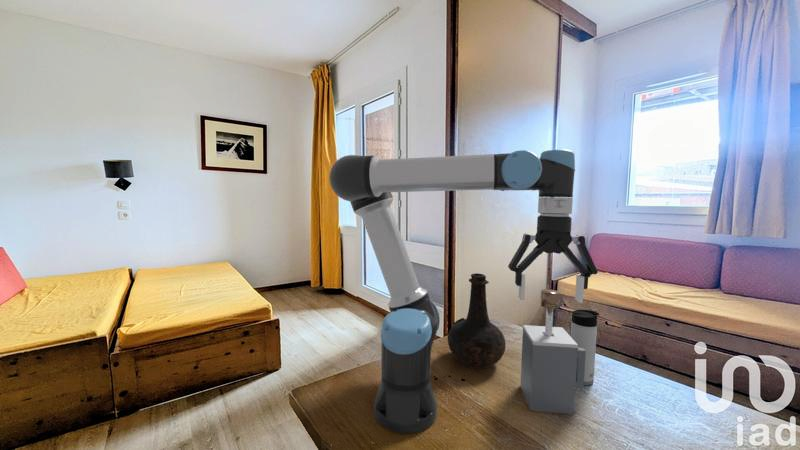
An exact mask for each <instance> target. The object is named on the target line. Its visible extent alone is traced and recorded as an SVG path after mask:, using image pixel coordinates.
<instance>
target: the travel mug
mask: <svg viewBox="0 0 800 450" xmlns="http://www.w3.org/2000/svg"><path fill="white" fill-rule="evenodd" d="M598 316H599V317H600V313H599V312H598V311H596V310H589V309H575V310H573V311H572V312H571V320H570V321H571V322H570V336H571V338H572V339H573V340H574V341H575V342H576V343H577V344H578V348H584V350H585V351H586V355H585V371H584V386H590V385H593V384H594V380H595V379H594V378H595V362H596V347H597V336H598V335H597V333H598V332H597V331H598V330H597V329H598Z"/></svg>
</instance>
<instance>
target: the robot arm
mask: <svg viewBox="0 0 800 450" xmlns="http://www.w3.org/2000/svg"><path fill="white" fill-rule="evenodd" d="M575 168H576V162H575V153H574V151H573V150H569V149H550V150H549V149H548V150H545V151H544V150H543V151H542V152H541V153H540V157H539V156H538V155H537V154H536V153H534V152H533V151H529V150H525V149H523V150H522V149H521V150H515V151H513V152H509V153H497V154H496V153H494V154H493V153H491V154H471V155H470V154H469V155H467V154H466V155H449V156H448V155H447V156H428V157H409V158H392V159H391V158H390V159H389V158H387V159H383V158H382V159H381V158H380V157H379V156H378V155H374V154H373V155H355V154H350V155H345V156H342V157H340V158H339V159H337V160H336V161H335V162H334V163H333V165H332V166H331V168H330V171H329V177H328V178H329V185H330V187H331V190H332V192H334V194H335V195H336V196H337V197H339V198H341V200H344V201H347V202H349V203H350V205H351V208H352V211H353V213H354V214H355V215H358V216H360V217H361V219H362V221H363V225H364V227H365V230H366V232H367V235H368V239H369V241H370V243H371V246H372V249H373V251H374V255H375V258H376V260H377V262H378V266H379V269H380V271H381V273H382V277H383V279H384V281H385V285H386V287H387V290H388V293H389V295H390V299H389V302H388V304H387V306H388V309H389V311H390V312H389V313H388V314H387V315H386V316H385V317H384V318H383V320H382V323H381V329H380V338H381V339H380V340H381V381H380V383H379V387H378V389H377V392H376V395H375V399H374V403H373V415H374V418H375V420H376V422H377V423H378V424H379V425H380V426H382V427H383V428H385V429H386V430H388V431H390V432H393V433H397V434H404V435H405V434H409V435H410V434H417V433H419V432H423V431H425V430H427V429H428V428H430V427H431V426H432V425H433V424H434V423H435V421H436V419H437V416H438V404H437V399H436V396H435V392H434V389H433V386H432V383H431V382H432V381H431V353H432V347H433V344H434V341H435V339H436V336H437V333H438V331H439V327H440V322H441V321H440V312H439V309H438V306H437V305H436V303H434V301H432V300H431V298H430V295H429V293H428V292H429V291H428V290H427V289H425V288H423V287H421V286H420V284H419V281H418V278H417V275H416V273H415V270H414V268H413V265H412V261H411V259H410V256H409V254H408V251H407V248H406V245H405V242H404V240H403V237H402V234H401V232H400V229H399V226H398V224H397V220H396V218H395V215H394V213H393V209H392V207H391V205H392V203H393V201H394V196H393V193H407V192H408V193H409V192H410V193H411V192H414V193H415V192H416V193H417V192H418V193H419V192H447V191H449V192H452V191H485V190H487V191H488V190H489V191H490V190H493V191H502V192H504V191H538V201H537V202H538V203H537V213H538V214H539V215H538V216H537V220H536V221H537V222H536V234H534V235H533V234H528V233H526V232H525V233H523V235H522V239H521V240H522V241H521V243H520V244H519V246H518V248H517V249H516V252H515V253H514V254H513V257H512V258H511V260H510V262H509V264H508V265H507V268H508V269H509V270H510V271H511V272H515V275H514V276H515V278H514V283H515V285H516V287H518V298H519V299H520V300H521V301H525V291H526V273H524V271H525V270H526V269H528V267H530V266H531V264H532V263H533V262H534V261H535V260H536V259H537V258H538V257H539V256H540V255H542V254H543V253H546V254H552V253H553V254H558V255H560V254H561V253H563V254H564V255H565V257H567V259H568V261H569V262H570V263H571V264H572V265H573V267H574V268H575V269H576V270H577V271H578V273H579V274H578V273H577V274H576V277H575V291H574V292H575V295H574V300H575V301H576V302H578V304H584V290H587V289H588V287H589V278H590V277H592V275H597V274H598V273H599V272H598V269H597V267H596V265H595V263H594V261H593V257H592V256H591V254H590V252H589V250H588V248H587V245H586V237H585V236H584V235H580V234H576V235H572V233H571V232H572V217H571V216H570V215H571V214H572V213H573V201H574V199H573V198H574V197H573V196H574V195H573V194H574V184H575V183H574V181H575V173H576V172H575V171H576V169H575ZM533 241H535V242H536V246H535V247H534V248H533V249H532V251H530V253H529V254H527V256H525V258H524V259H522V258H523V256H524V255H525V253H526V251H527V250H528V247H529V246H530V244H532V243H533ZM572 243H573V244H574V245H576V246H575V247H576V249H577V250H578V252H579V254H580V256H581V259H582V261H583V263H584V265H585V266H584V265H583V264H582V263H581V261H580V260H579V259H578V258H577V257H576V255H575V254H574V253H573V251H572V249H571V248H570V247H569V246H570V244H572ZM521 260H522V261H521ZM520 261H521V262H520Z"/></svg>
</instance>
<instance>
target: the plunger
mask: <svg viewBox="0 0 800 450" xmlns="http://www.w3.org/2000/svg"><path fill="white" fill-rule="evenodd" d="M540 306H541V307H543V308H545V325H544V326H545V336H552V327H554V326H553V323H554V310H555V309H556V310H557V309H560V308H561V292H560V291H558V290H555V289H546V288H545V289H541V290H540Z"/></svg>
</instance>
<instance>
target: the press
mask: <svg viewBox="0 0 800 450" xmlns="http://www.w3.org/2000/svg"><path fill="white" fill-rule="evenodd" d="M545 326H546V325H542V326H541V325H531V324H530V325H529V324H528V325H527V324H526V325H525V324H524V325H522V341H521V343H522V344H521V345H522V346H521V364H520V366H521V367H520V388H521V392H522V393H523V395H524V398H525V401H526V404H527V406H528V409H529V410H530V411H535V412H536V411H537V412H546V413H556V414H558V413H559V414H567V415H574V414H575V400H576V389H577V390H584V388H585V387H584V386H585V385H584V371H585V355H586V351H585V350H584V348H578V344H577V343H576V342H575V341H574V340H573V339H572V338H571V334H569V333H568V332H567V330H565V328H564V327H562V326H561V327H559V326H553V327H552V336H545Z"/></svg>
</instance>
